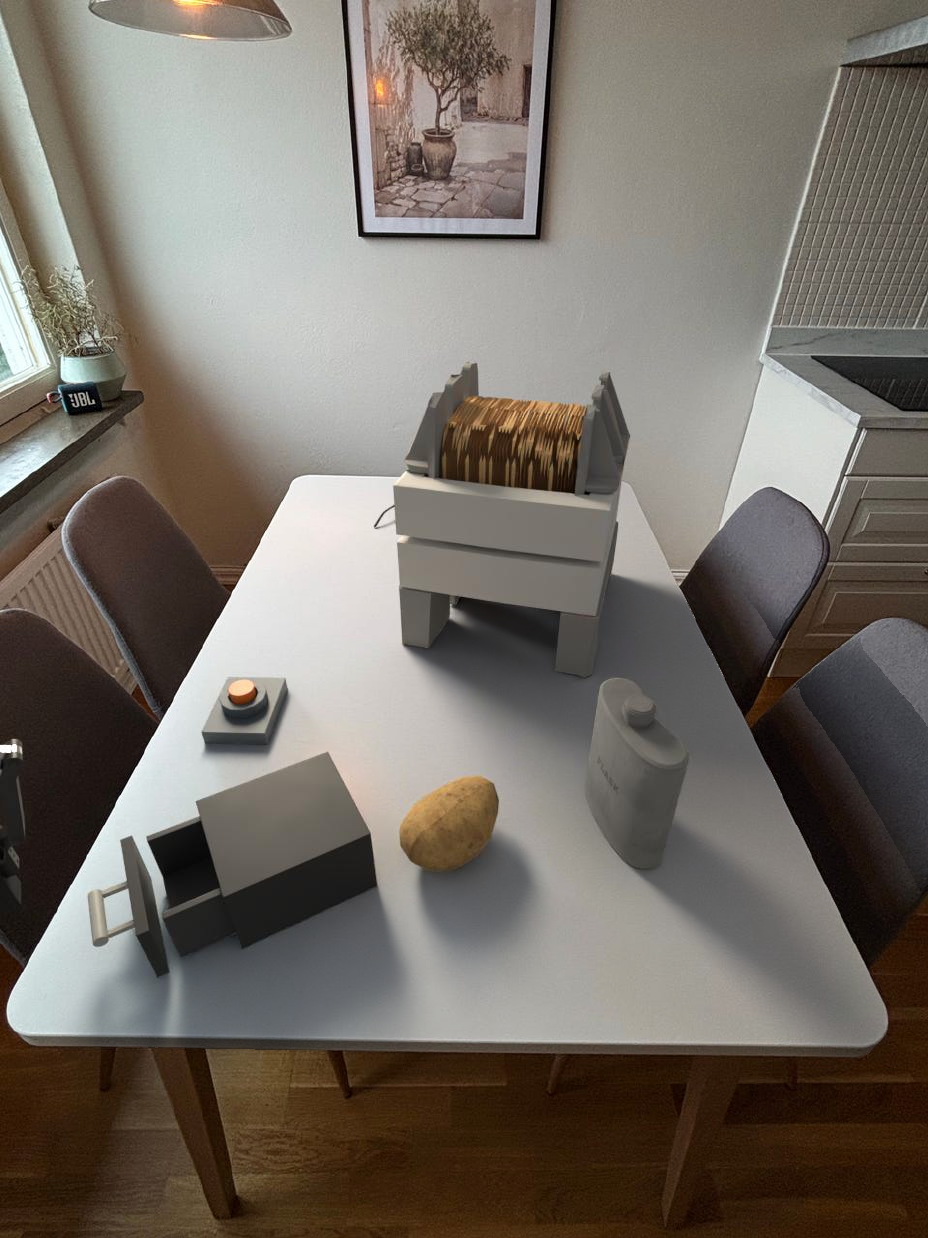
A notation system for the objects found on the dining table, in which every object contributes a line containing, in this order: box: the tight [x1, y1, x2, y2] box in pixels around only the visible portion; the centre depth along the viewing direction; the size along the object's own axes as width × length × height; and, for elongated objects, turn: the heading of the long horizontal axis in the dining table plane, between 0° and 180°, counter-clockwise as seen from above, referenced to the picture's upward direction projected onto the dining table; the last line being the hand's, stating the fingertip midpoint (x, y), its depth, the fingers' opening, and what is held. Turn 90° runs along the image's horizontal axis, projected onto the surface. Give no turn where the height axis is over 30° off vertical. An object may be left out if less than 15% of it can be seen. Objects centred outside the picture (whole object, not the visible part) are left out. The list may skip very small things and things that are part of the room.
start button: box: [229, 680, 256, 704], centre depth 99 cm, size 4×4×2 cm
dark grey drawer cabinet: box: [195, 751, 378, 950], centre depth 77 cm, size 16×14×10 cm
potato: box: [398, 775, 500, 873], centre depth 81 cm, size 10×14×8 cm
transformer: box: [392, 361, 631, 678], centre depth 113 cm, size 34×33×41 cm
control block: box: [200, 676, 288, 745], centre depth 101 cm, size 12×9×4 cm
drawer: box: [87, 815, 236, 978], centre depth 73 cm, size 19×12×8 cm, turn 119°
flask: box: [584, 677, 690, 870], centre depth 80 cm, size 15×6×20 cm, turn 17°
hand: (12, 897), depth 63 cm, fingers closed
